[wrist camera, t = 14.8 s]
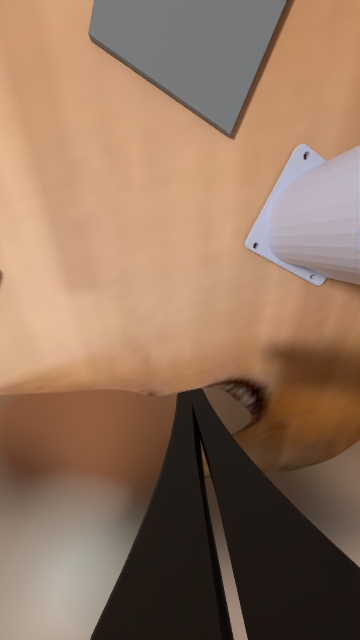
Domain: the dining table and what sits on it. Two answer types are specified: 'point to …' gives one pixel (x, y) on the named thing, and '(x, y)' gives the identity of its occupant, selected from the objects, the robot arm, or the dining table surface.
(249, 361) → the dining table surface
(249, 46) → the mat
